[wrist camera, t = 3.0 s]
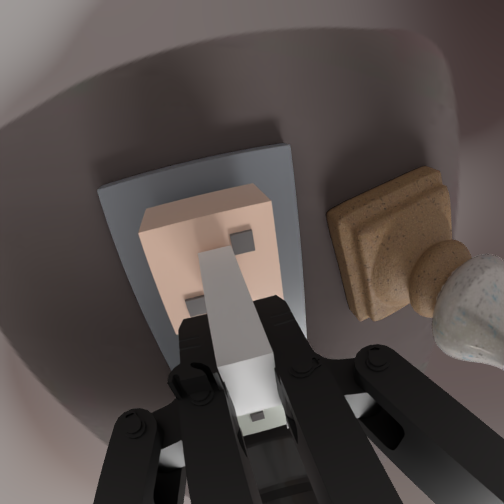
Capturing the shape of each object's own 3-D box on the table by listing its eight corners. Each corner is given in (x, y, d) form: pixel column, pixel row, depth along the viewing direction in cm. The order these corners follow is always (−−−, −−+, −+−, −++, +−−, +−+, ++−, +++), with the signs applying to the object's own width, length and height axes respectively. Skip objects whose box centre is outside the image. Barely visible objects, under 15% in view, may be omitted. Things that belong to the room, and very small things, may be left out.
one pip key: (284, 391, 25) (296, 423, 22) (220, 408, 24) (228, 441, 21) (278, 349, 22) (293, 384, 19) (203, 369, 21) (209, 407, 18)
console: (304, 368, 29) (317, 396, 25) (191, 398, 27) (195, 428, 24) (283, 142, 18) (307, 150, 15) (101, 185, 17) (84, 202, 13)
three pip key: (267, 274, 19) (285, 309, 16) (175, 298, 18) (176, 337, 15) (253, 183, 16) (272, 202, 13) (146, 208, 15) (137, 234, 12)
